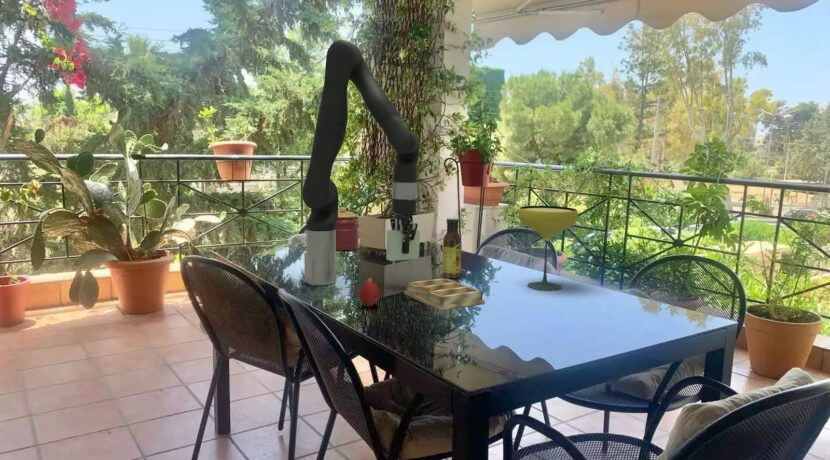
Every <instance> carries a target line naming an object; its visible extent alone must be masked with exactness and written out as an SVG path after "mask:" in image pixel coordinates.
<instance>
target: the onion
mask: <svg viewBox="0 0 830 460" xmlns="http://www.w3.org/2000/svg"><path fill="white" fill-rule="evenodd" d="M380 297H381V292H380V289H379V287H378V285H377V284H376V283H375V282H373V278H368V279H367V281H365V282H364V283H363V284H362V285H361V286H360V287H359V290H358V299H359V301H360V302H361V303H362V304H363V305H365V306H366V307H368V308H371V307H372V306H373V305H374V304H376V303H377V302H378V301H379V300H380Z"/></svg>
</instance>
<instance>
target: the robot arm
mask: <svg viewBox="0 0 830 460" xmlns="http://www.w3.org/2000/svg"><path fill="white" fill-rule="evenodd" d="M324 69H325V71H324V81H323V82H324V83H323V88H322V94H321V97H320V103H319V108H318V114H317V118H316V123H315V124H316V125H315V130H314V137H313V143H312V147H311V148H312V149H311V154H310V160H309V166H308V169H307V173H306V176H305V179H304V183H303V186H302V190H301V191H302V192H301V197H302V200H303V201H302V202H303V203H304V205H305V206H306V207H307V208H309V209H310V214H309V217H308V219H307V220H306V223H305V226H306V227H305V229H306V231H305V233H306V242H305V243H306V252H304V255H303V256H304V259H303V262H304V282H305V283H306V284H308V285H310V286H329V285H333V284H335V283H336V282H337V260H336V259H337V254H336V252H337V251H336V222H337V218H338V211H339V190H338V187H337V185H336V183H335V182H334V181H333V180H331V176H332V175H331V174H332V169H333V165H334V164H335V161H336V159H337V156H338V155H339V153H340V151H341V149H342V147H343V144H344V142H345V138H346V133H347V127H348V121H349V120H348V119H349V118H348V117H349V109H348V106H349V104H348V86H349V81H350V82H351V83H352V84H353V85H354V86H355V88H356V89H357V91H358V92H359V94H360V95H361V97H362V99H363V102H364V104H365V106H366V108H367V109H368V111H369V112H370V114H371V116H372V117H373V119H374V120H375V121H376V123H377V124H378V126H379V127H380V128H381V129H382V131H383V132H384V134H385V137H386V138H387V141H388V142H389V144H390V145H391V146H392V148H393V149H394V151H395V152H396V162H395V164H394V166H393V167H394V168H393V180H392V181H393V182H392V183H393V184H392V189H391V192H392V193H391V212H392V213H394V217H391V218H390V219H389V221H390V227H391V230H400V231H401V234H402V241H403V242H402V253H403V254H408V253H409V243H410V241H412V240H414V238H415V234H416V230H418V227H419V224H418V223H416V222H414V218H413V214H416V212H417V201H418V200H417V199H418V198H417V197H418V196H417V194H418V187H417V173H418V172H417V169H418V168H417V165H418V160H419V154H420V153H419V152H420V140H419V137H418V136H417V134H416V133H415V132H413V131H411V130H409V128H408V127H407V126H406V124H405V123H404V121H403V119H402V115H401V113H400V112H399V111H398V109H397V108H396V106H395V105H394V104H393V102H392V101H391V100H390V98H389V97H388V95H387V94H386V93H385V91H384V90H383V89H382V88H381V86H380V85H379V83H378V82H377V80H376V78H375V77H374V76H373V74H372V72H371V70H370V68H369V65H368V64H367V62H366V60H365V58H364V56H363V54H362V51H361V50H360V48H358V46H357V45H356V44H353V43H352V42H350V41H347V40H343V39H338V40H335V41H334V42H332V43H331V44H330V46H328V49H327V51H326V56H325V68H324ZM405 230H407V232H405ZM405 234H406V237H405Z"/></svg>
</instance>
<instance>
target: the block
mask: <svg viewBox="0 0 830 460" xmlns="http://www.w3.org/2000/svg"><path fill="white" fill-rule="evenodd" d="M405 232H407V230H405ZM405 237H406V234H405ZM420 237H421V230H420V229H417V230H416V234H415V238H414V240H412V241H410V243H409V253H408V254H403V253H402V242H403V241H402V234H401V231H400V230H392V229H389V230H386V248H385V249H386V253H385V255H386V256H385V259H386V260H387V261H389V262H396V261H406V260H407V261H408V260H419V259H420Z"/></svg>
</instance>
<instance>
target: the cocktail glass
mask: <svg viewBox="0 0 830 460" xmlns="http://www.w3.org/2000/svg"><path fill="white" fill-rule="evenodd" d="M578 214H579V213H578V209H576V208H574V207H568V206H557V205H525V206H520V207H519V208H518V219H519V221H520V222H521V223H522V224H523V225H525V227H527V228H529V229H531V230H532V231H534V232H535V233H537V234H538V235H540V237H541V238H542V240H543V241H545V245H544V246H545V247H544V248H545V249H544V251H545V252H544V263H543V264H544V266H543V276H542V280H541V281H532V282H529V283H527V285H526V286H527V288H529V287H530V288H529V289H532V288H533V289H532V290H536V289H537V291H543V290H545V292H546V291H548V292H551V291H552V290H554V291H559V289H560V290H561V289H562V288H563V286H562V285H561V284H558V283H554V282H551V281H548V276H547V265H548V263H547V261H548V244H549V241H550V240H552V238H553V237H554V236H555V235H556V234H558V233H561V232H562V231H565V230H566V229H569V228H571V227H572V226H574V225H575V224H576V222H577V221H578V216H579V215H578Z"/></svg>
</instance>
